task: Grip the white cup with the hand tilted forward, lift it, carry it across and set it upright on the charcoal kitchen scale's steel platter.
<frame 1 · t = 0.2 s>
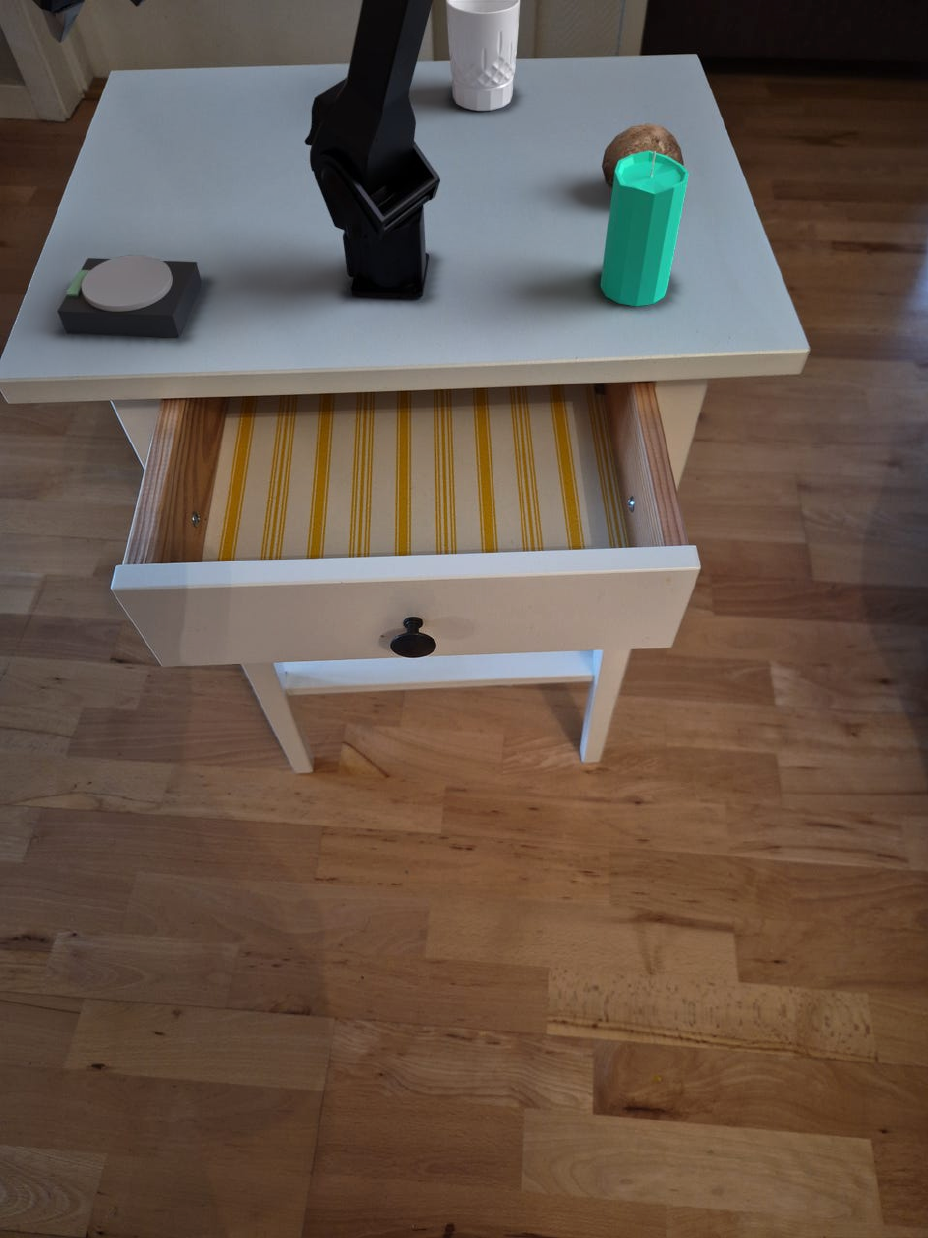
hand: (96, 19, 81), 15 cm above the nightstand, tool tilted 35°, fingers open, 9 cm apart
white cup: (482, 99, 103), on the nightstand
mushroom: (638, 195, 91), on the nightstand
candle: (633, 288, 81), on the nightstand
scale: (136, 307, 80), on the nightstand
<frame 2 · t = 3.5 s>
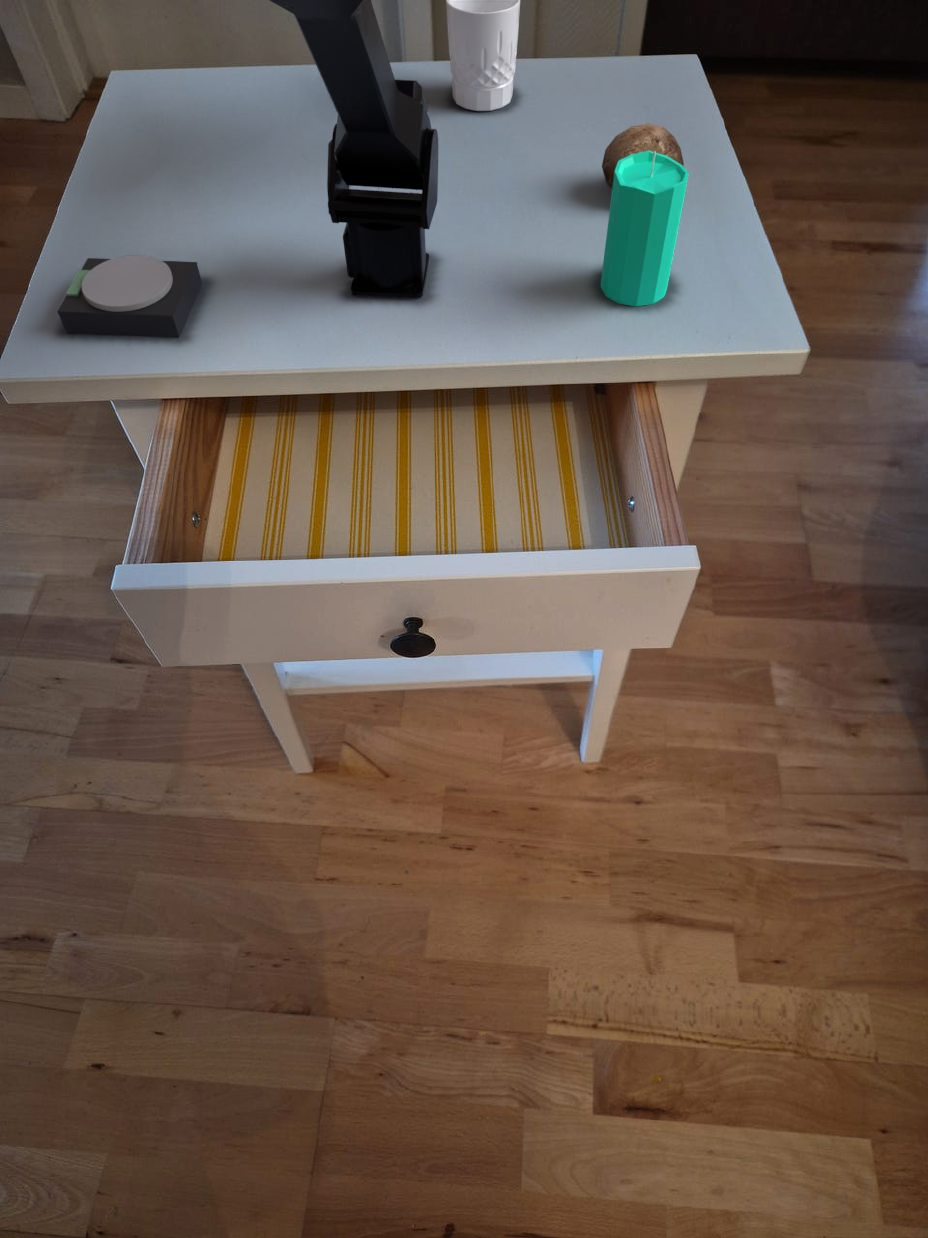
nothing on the nightstand moved.
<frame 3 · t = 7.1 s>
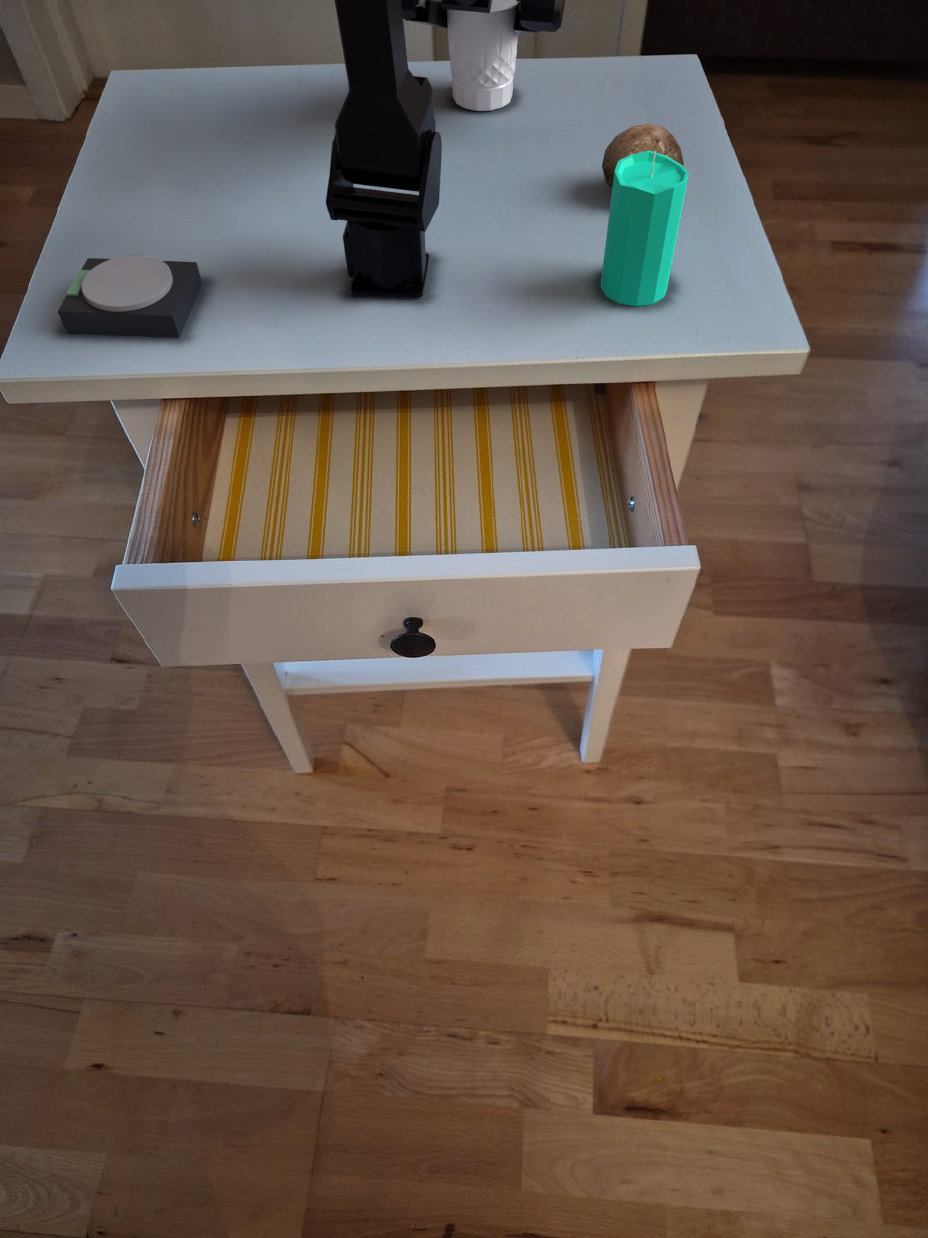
hand: (486, 28, 99), 7 cm above the nightstand, tool tilted 45°, fingers closed on white cup, 7 cm apart
white cup: (482, 99, 104), on the nightstand, touching gripper
everything else where it was.
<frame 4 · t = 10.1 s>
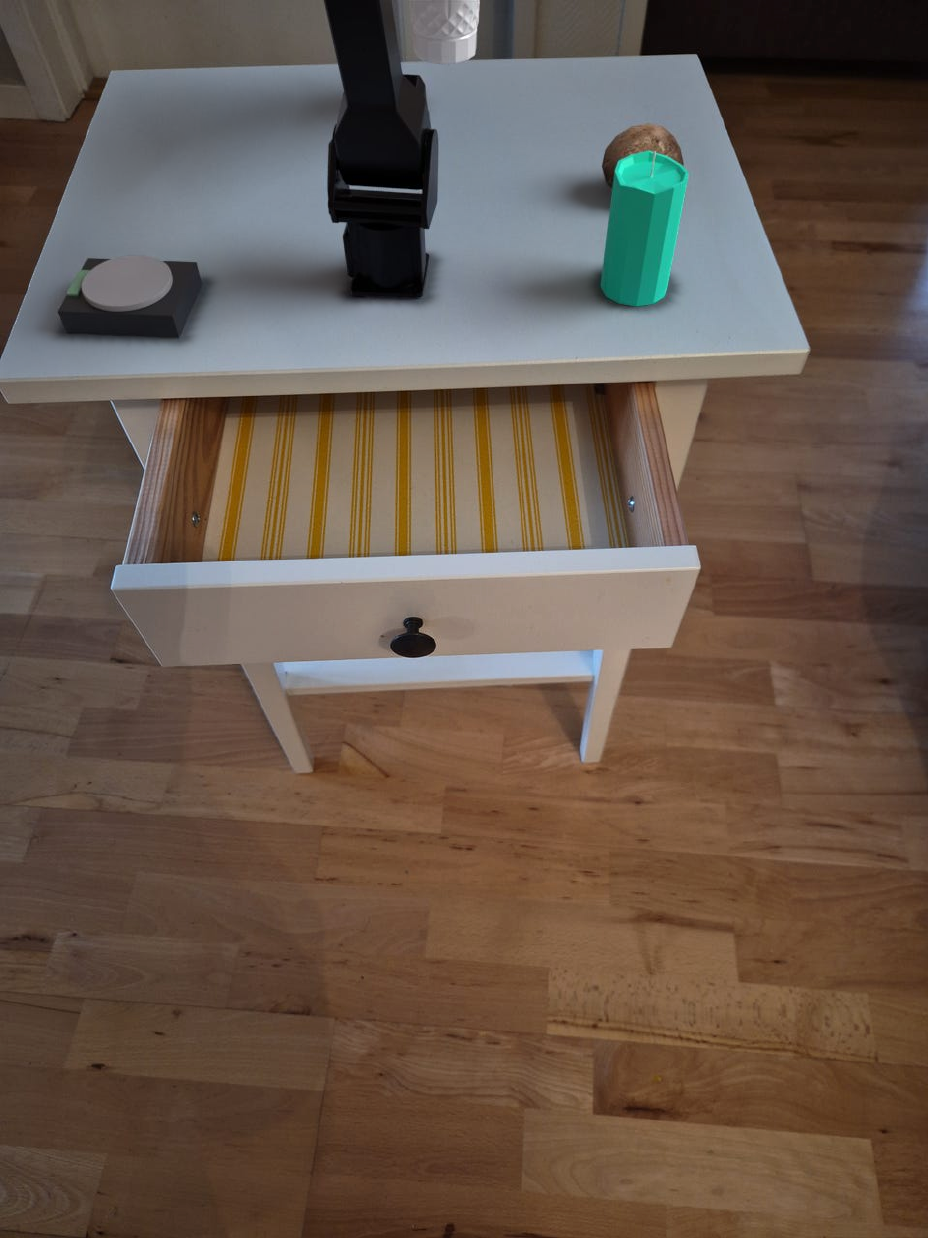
white cup: (445, 54, 98), point 5 cm above the nightstand, touching gripper
everything else where it was.
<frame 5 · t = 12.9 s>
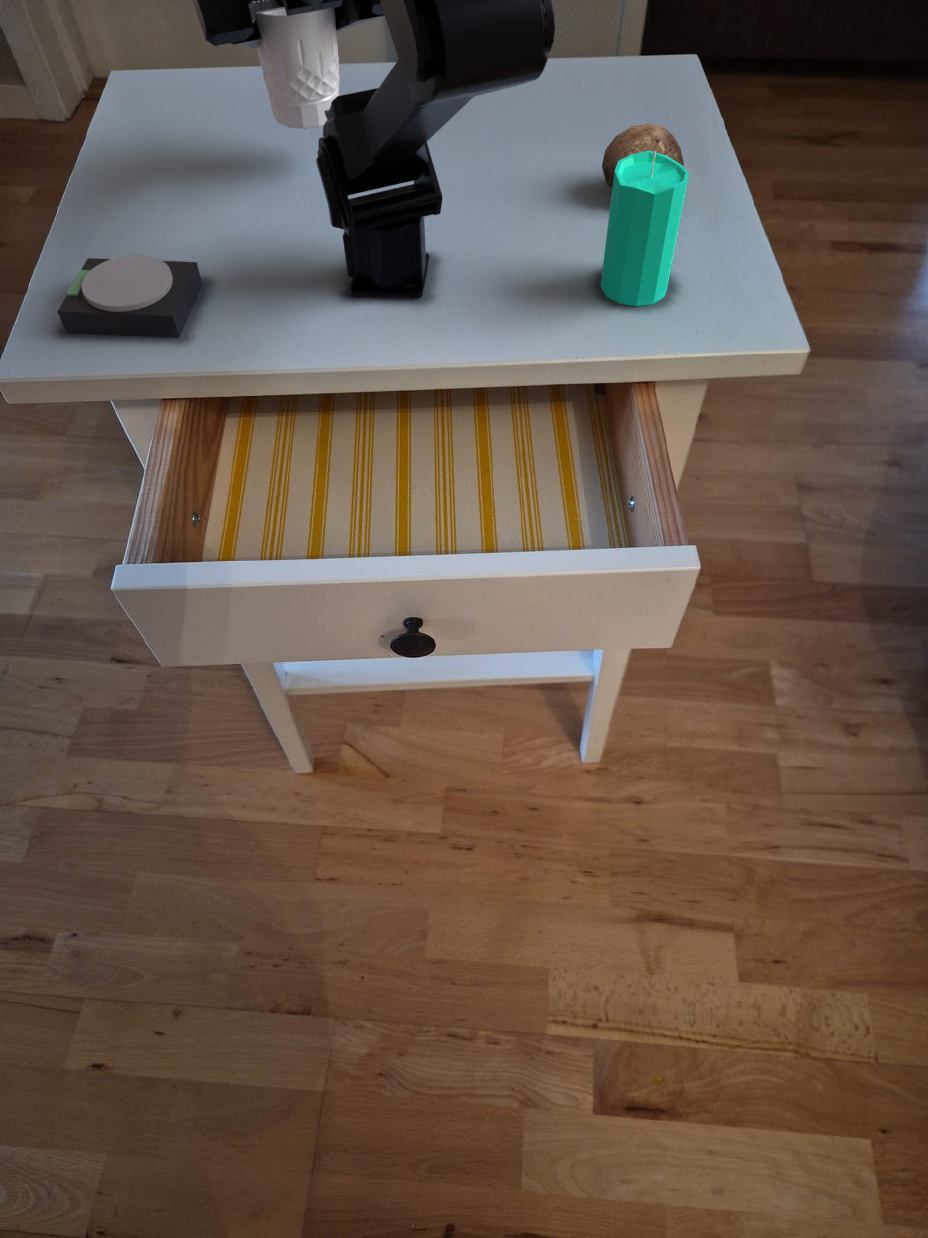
hand: (292, 34, 86), 12 cm above the nightstand, tool tilted 45°, fingers closed on white cup, 7 cm apart
white cup: (307, 115, 91), point 5 cm above the nightstand, touching gripper
everything else where it was.
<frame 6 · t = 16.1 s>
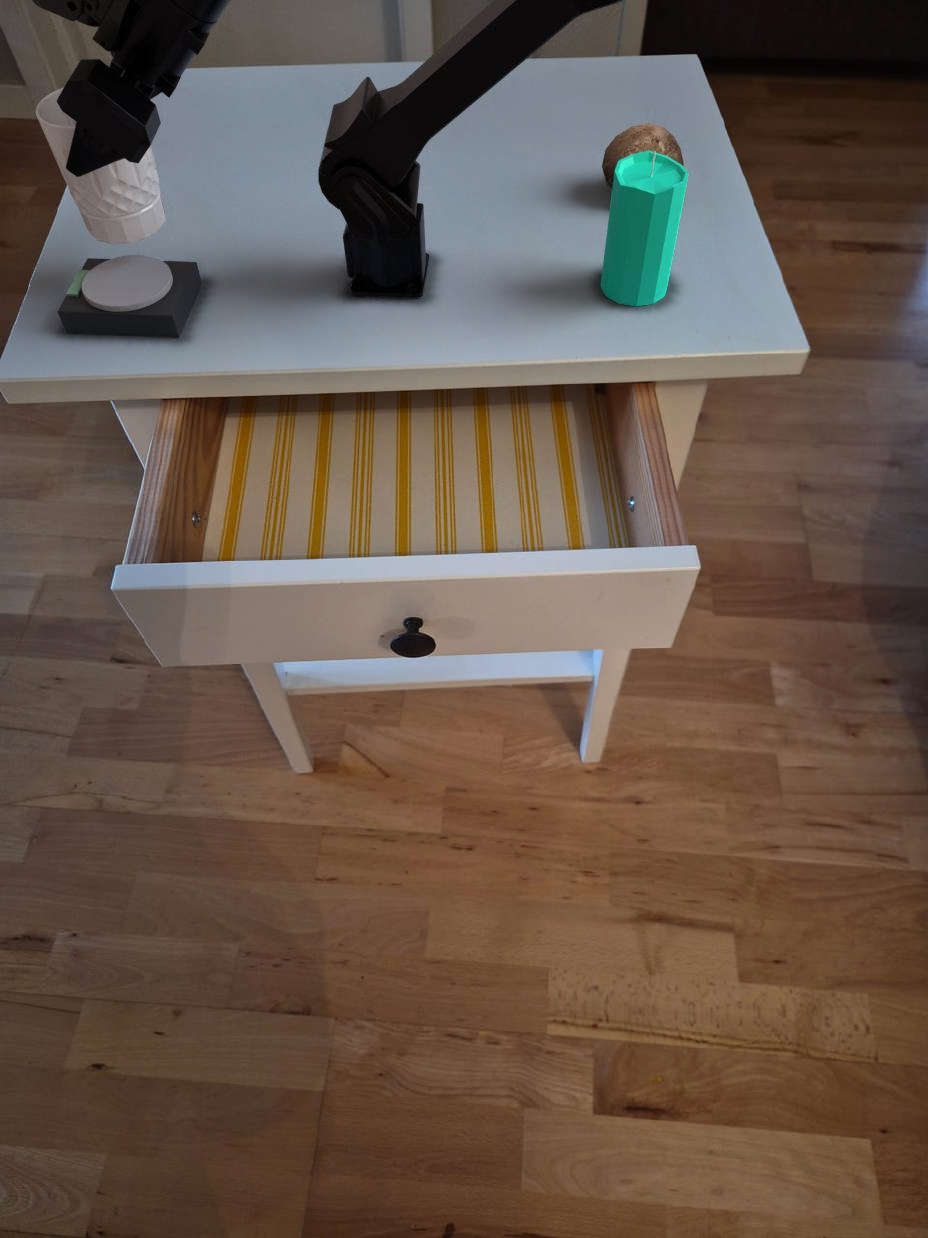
hand: (85, 146, 74), 12 cm above the nightstand, tool tilted 45°, fingers closed on white cup, 7 cm apart
white cup: (128, 225, 79), point 5 cm above the nightstand, touching gripper
everything else where it was.
when the fingers open (9 cm above the nightstand, at t = 18.8 s): white cup stays where it is, resting on scale.
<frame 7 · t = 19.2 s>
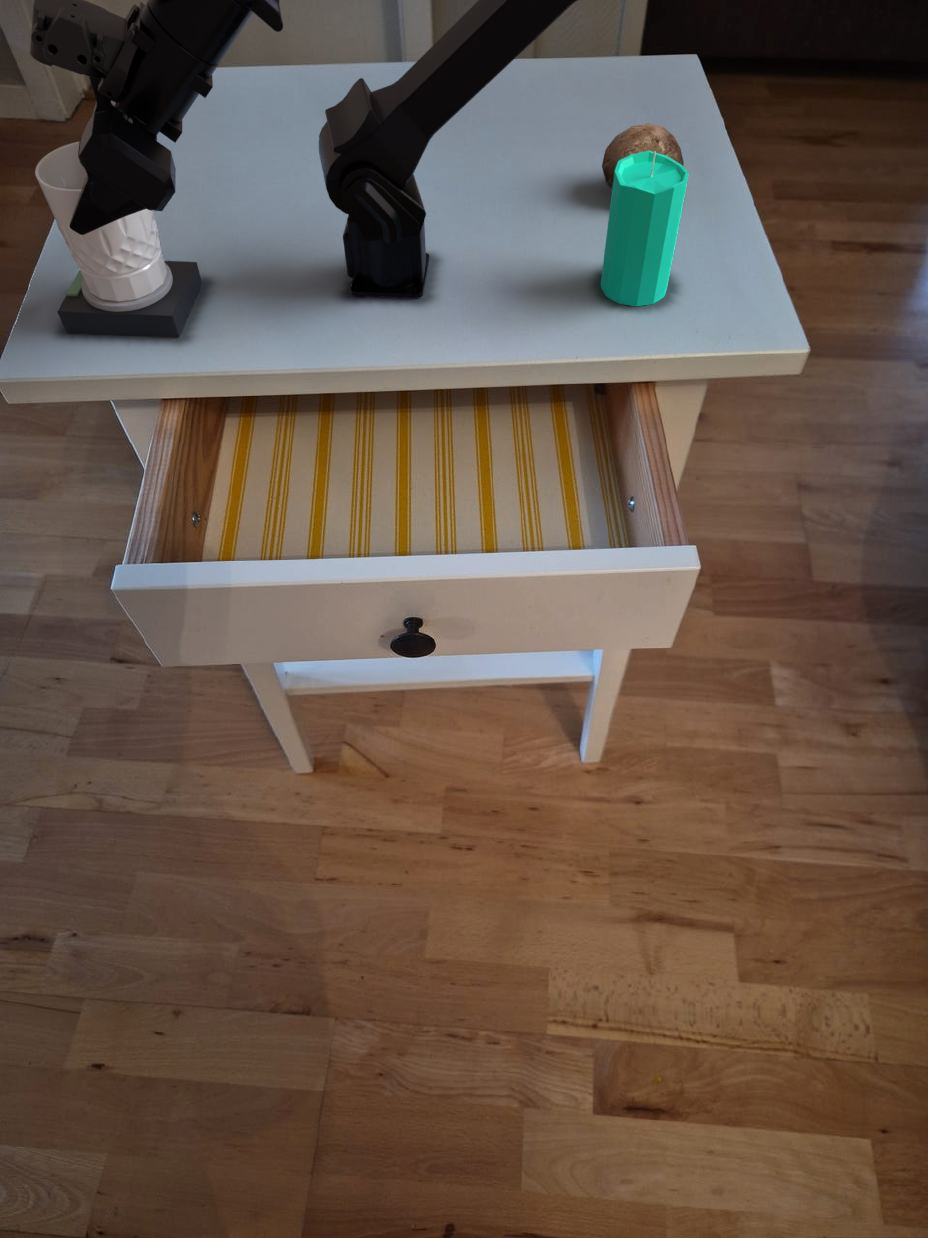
hand: (79, 199, 72), 10 cm above the nightstand, tool tilted 45°, fingers open, 9 cm apart
white cup: (128, 281, 78), point 3 cm above the nightstand, touching scale
everything else where it was.
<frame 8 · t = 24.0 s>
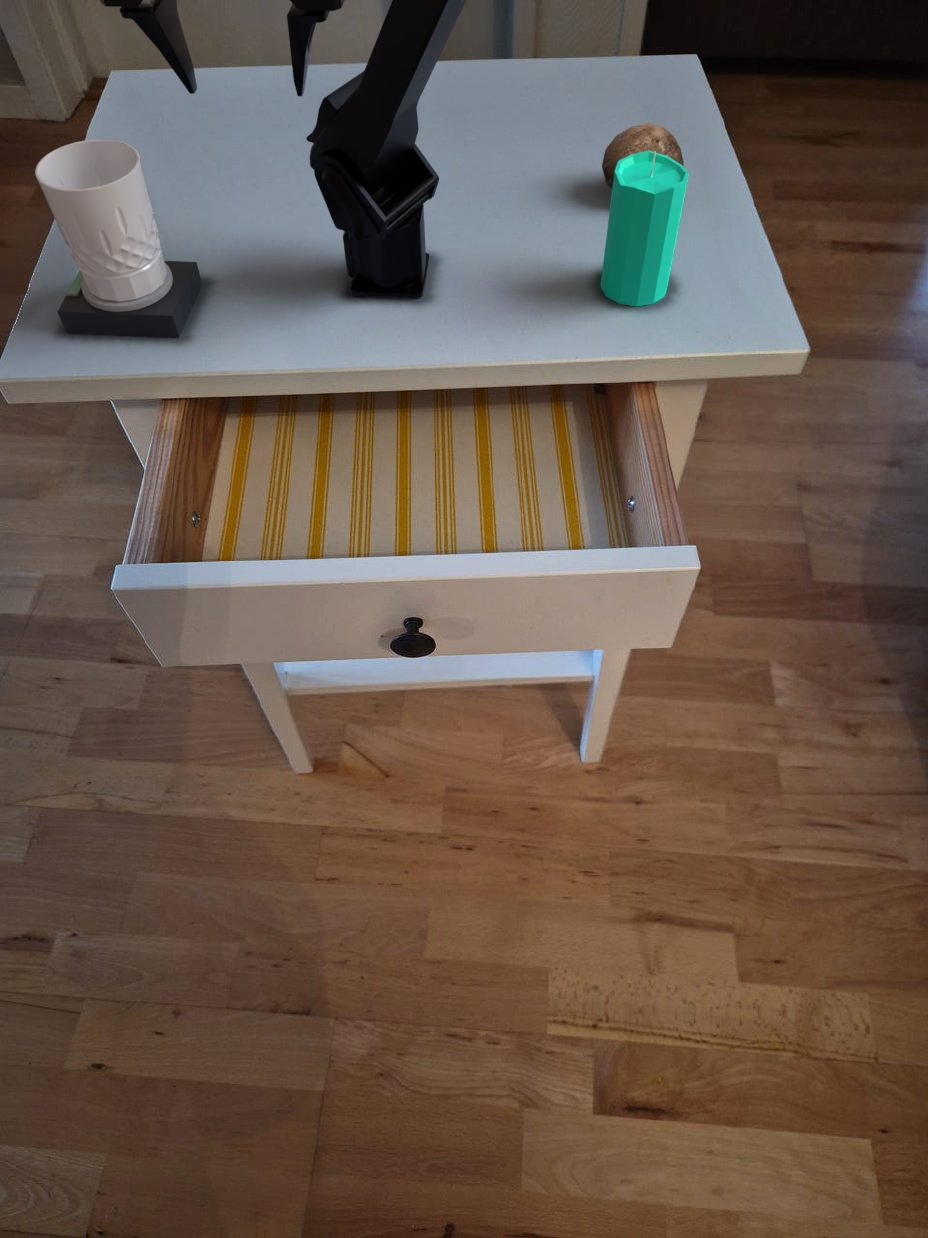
hand: (247, 92, 76), 13 cm above the nightstand, tool pointing down, fingers open, 9 cm apart
nothing on the nightstand moved.
at the end: white cup 0.1 cm off-centre on the scale, point 2.6 cm above the scale's base; white cup tilted 0°; the gripper is holding nothing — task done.
